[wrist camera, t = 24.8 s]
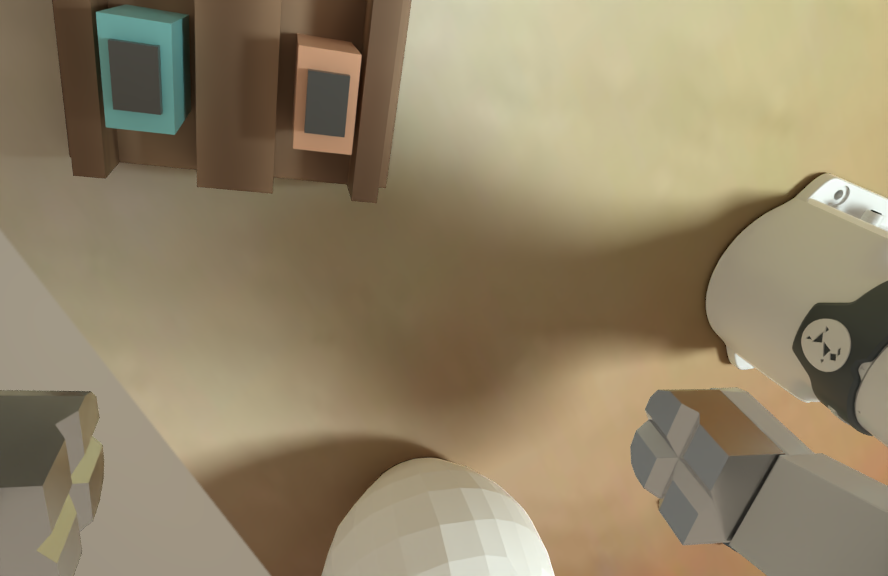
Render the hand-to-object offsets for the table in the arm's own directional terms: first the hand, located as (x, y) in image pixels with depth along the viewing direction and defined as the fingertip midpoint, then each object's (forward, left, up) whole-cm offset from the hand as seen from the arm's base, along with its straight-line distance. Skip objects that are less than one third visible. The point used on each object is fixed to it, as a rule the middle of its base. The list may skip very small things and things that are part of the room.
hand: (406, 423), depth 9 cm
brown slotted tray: (+4, 0, -31) cm, 31 cm away
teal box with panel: (+8, 0, -30) cm, 31 cm away
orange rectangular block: (0, 0, -30) cm, 30 cm away
